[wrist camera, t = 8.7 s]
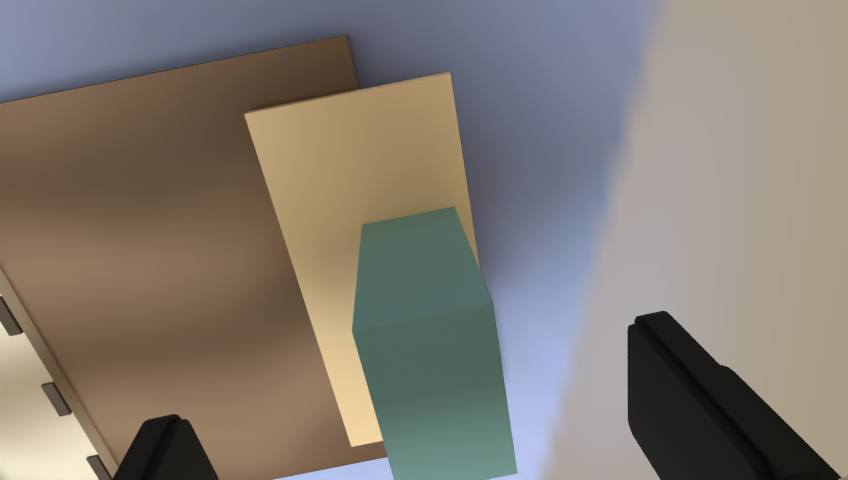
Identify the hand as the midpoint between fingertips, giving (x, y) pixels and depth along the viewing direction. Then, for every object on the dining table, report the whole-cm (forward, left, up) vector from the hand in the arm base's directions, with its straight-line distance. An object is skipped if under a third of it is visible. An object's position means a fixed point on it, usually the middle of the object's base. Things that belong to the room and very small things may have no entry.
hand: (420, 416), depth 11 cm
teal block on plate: (+1, -1, -7) cm, 7 cm away
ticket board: (+1, -11, -9) cm, 14 cm away
